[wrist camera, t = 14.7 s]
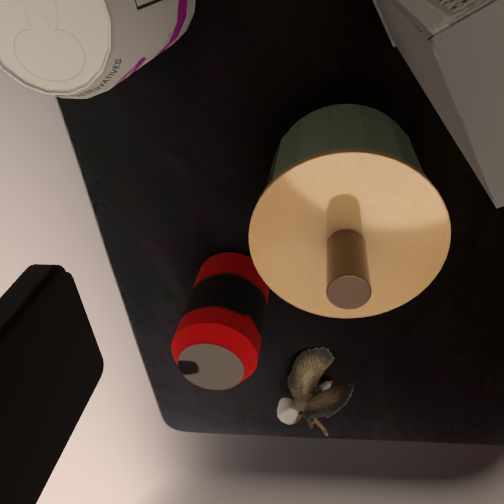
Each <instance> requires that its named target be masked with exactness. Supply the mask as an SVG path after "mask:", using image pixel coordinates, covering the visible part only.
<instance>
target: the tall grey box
mask: <svg viewBox="0 0 504 504" xmlns="http://www.w3.org/2000/svg"><path fill="white" fill-rule="evenodd" d="M373 3H374V5H375V7H376V9H377V12H378V14H379V16H380V18H381V21H382V23H383V25H384V27H385V30H386V32H387V34H388V36H389V39H390V41H391V43H392V45H393V47H395V46H397V48H398V50H399V51H400V53H401V54H402V56H403V58H404V59H405V61H406V63H407V64H408V66H409V67H410V69H411V71H412V72H413V74H414V75H415V77H416V79H417V80H418V82H419V84H420V85H421V87H422V88H423V90H424V92H425V93H426V95H427V97H428V98H429V100H430V101H431V103H432V105H433V106H434V108H435V109H436V111H437V113H438V114H439V116H440V118H441V119H442V121H443V122H444V124H445V126H446V127H447V129H448V130H449V132H450V134H451V135H452V137H453V139H454V140H455V142H456V143H457V145H458V147H459V148H460V150H461V151H462V153H463V155H464V156H465V158H466V160H467V161H468V163H469V164H470V166H471V168H472V169H473V171H474V172H475V174H476V176H477V177H478V179H479V181H480V182H481V184H482V185H483V187H484V189H485V190H486V192H487V193H488V195H489V197H490V198H491V200H492V202H493V203H494V205H495V206H496V208H499V207H502V206H504V0H373Z"/></svg>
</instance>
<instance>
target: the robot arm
mask: <svg viewBox="0 0 504 504" xmlns="http://www.w3.org/2000/svg"><path fill="white" fill-rule="evenodd" d="M103 366H104V365H103V358H102V356H101V352H100V350H99V347H98V345H97V342H96V339H95V336H94V333H93V331H92V328H91V326H90V323H89V320H88V317H87V314H86V312H85V309H84V306H83V304H82V301H81V298H80V295H79V293H78V290H77V287H76V285H75V282H74V279H73V277H72V275H71V274H70V273H69V272H66V271H65V269H64V268H63V267H62V266H60V265H37V264H35V265H31V266H29V267H28V268H27V269H26V270H25V271H24V272H23V273H22V275H21V276H20V277H19V278H18V279H17V280H16V281H15V282H14V283H13V284H12V286H11V287H10V288H9V289H8V290H7V291H6V292H5V293H4V294H3V296H2V297H1V298H0V504H36V502H37V500H38V498H39V497H40V495H41V493H42V491H43V489H44V487H45V485H46V483H47V481H48V479H49V477H50V475H51V473H52V471H53V469H54V467H55V465H56V463H57V461H58V459H59V458H60V456H61V454H62V452H63V450H64V448H65V446H66V444H67V442H68V440H69V438H70V436H71V434H72V432H73V430H74V428H75V426H76V424H77V422H78V421H79V418H80V416H81V415H82V413H83V411H84V409H85V407H86V405H87V403H88V401H89V399H90V397H91V395H92V393H93V391H94V389H95V387H96V385H97V383H98V381H99V379H100V378H101V375H102V372H103Z"/></svg>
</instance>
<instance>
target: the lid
mask: <svg viewBox="0 0 504 504" xmlns="http://www.w3.org/2000/svg"><path fill="white" fill-rule="evenodd" d="M450 240H451V223H450V219H449V214H448V211H447V208H446V206H445V203H444V201H443V198H442V196H441V195H440V193H439V191H438V190H437V188H436V186H435V185H434V184H433V183H432V182H431V181H430V179H429V178H428V177H427V176H426V175H425V174H424V173H422V172H421V171H420V170H419V169H418V168H416V167H415V166H413V165H412V164H410V163H408V162H407V161H405V160H403V159H401V158H398V157H396V156H394V155H391V154H388V153H385V152H381V151H377V150H371V149H365V148H342V149H333V150H328V151H323V152H320V153H317V154H314V155H311V156H308V157H306V158H303V159H301V160H299V161H297V162H295V163H294V164H292V165H291V166H289V167H287V168H286V169H284V170H283V171H282V172H281V173H280V174H278V175H277V176H276V177H275V178H274V179H273V180H272V181H271V182H270V183H269V184H268V186H267V187H266V188H265V189H264V191H263V192H262V194H261V195H260V197H259V199H258V201H257V203H256V205H255V207H254V211H253V214H252V217H251V221H250V227H249V248H250V254H251V257H252V260H253V263H254V265H255V267H256V269H257V271H258V273H259V275H260V276H261V277H262V279H263V280H264V282H265V283H266V284H267V285H268V286H269V287H270V289H271V290H273V291H274V292H275V293H276V294H277V295H278V296H279V297H281V298H282V299H284V300H285V301H287V302H288V303H290V304H292V305H294V306H296V307H298V308H300V309H302V310H305V311H307V312H310V313H314V314H317V315H321V316H327V317H334V318H359V317H367V316H372V315H377V314H380V313H384V312H387V311H390V310H392V309H394V308H397V307H399V306H401V305H403V304H405V303H406V302H408V301H410V300H411V299H413V298H414V297H416V296H417V295H418V294H420V293H421V292H422V291H423V290H424V289H425V288H426V287H427V286H428V285H429V284H430V283H431V282H432V281H433V280H434V278H435V277H436V276H437V274H438V273H439V271H440V269H441V268H442V266H443V264H444V262H445V259H446V257H447V254H448V250H449V247H450Z"/></svg>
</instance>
